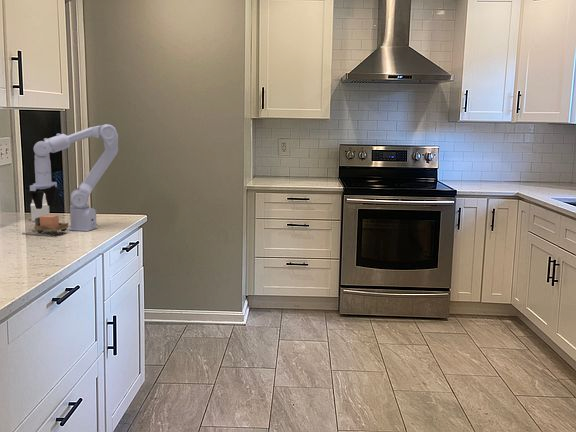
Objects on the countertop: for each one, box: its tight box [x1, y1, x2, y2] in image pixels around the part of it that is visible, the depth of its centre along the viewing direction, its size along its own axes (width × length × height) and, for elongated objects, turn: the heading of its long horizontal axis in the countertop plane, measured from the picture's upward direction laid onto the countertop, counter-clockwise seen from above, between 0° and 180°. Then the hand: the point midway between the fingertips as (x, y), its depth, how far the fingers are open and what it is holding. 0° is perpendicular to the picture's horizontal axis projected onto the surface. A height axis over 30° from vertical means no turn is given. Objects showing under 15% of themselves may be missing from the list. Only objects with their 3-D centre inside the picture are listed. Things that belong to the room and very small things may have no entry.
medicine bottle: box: [29, 192, 51, 222], centre depth 248 cm, size 7×7×12 cm
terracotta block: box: [40, 214, 60, 227], centre depth 218 cm, size 4×4×5 cm
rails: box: [21, 229, 64, 237], centre depth 220 cm, size 13×7×1 cm, turn 78°
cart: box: [34, 217, 69, 236], centre depth 219 cm, size 9×8×6 cm
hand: (44, 207), depth 224 cm, fingers open, 7 cm apart
